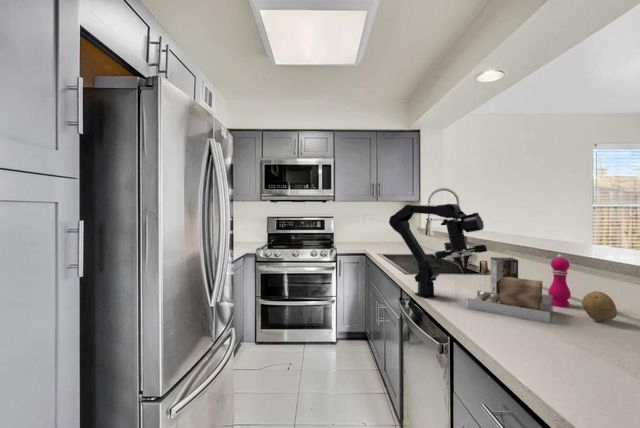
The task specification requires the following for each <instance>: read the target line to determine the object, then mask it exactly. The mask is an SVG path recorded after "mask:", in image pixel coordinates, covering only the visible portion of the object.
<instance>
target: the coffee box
mask: <svg viewBox="0 0 640 428" xmlns="http://www.w3.org/2000/svg"><path fill="white" fill-rule="evenodd" d="M505 277H511V278H519V260H518V259H516V258H514V257H492V256H491V257H490V291H489V292H491V293H498V294H500V282H501V281H502V280H503V279H504V278H505Z"/></svg>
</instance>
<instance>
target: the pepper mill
mask: <svg viewBox="0 0 640 428" xmlns="http://www.w3.org/2000/svg"><path fill="white" fill-rule="evenodd" d="M563 257H564V256H563V254H562V253H558V254H557V257H556V258H553V259H552V260H551V261H550V266H551V268H552V272H551V274H552V275H553V280H552V283H551V285H550V286H549V288H548V292H547V295H552V296H553V306H554V307H558V308H568V307H569V306H570V301H569V299H571V297H572V294H571V291H570V288H569V286H568V284H567V283H568V282H567V276H568V270H569V269H570V262H569V261H568V260H567V259H566V258H563Z"/></svg>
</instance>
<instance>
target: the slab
mask: <svg viewBox="0 0 640 428" xmlns="http://www.w3.org/2000/svg"><path fill="white" fill-rule="evenodd" d="M542 296H543V281H542V280H535V279H527V278H519V277H518V278H511V277H505V278H504V279H503V280H502V281H501V282H500V304H507V305H513V306H519V307H525V308H531V309H537V310H539V309H540V301H541V298H542Z"/></svg>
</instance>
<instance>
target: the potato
mask: <svg viewBox="0 0 640 428" xmlns="http://www.w3.org/2000/svg"><path fill="white" fill-rule="evenodd" d="M581 305H582V308H583V310H584V312H586V314H587V315H588V316H589V317H590V319H592V320H593V321H595V322H599V323H603V322H605V321H610V320H613V319H615V318H616V317H617V316H618V311H617V307H616V305H615V302H614V301H613V299H612V298H611V297H610V296H609V295H608V294H606V293H605V292H604V291H603V292H602V291H597V290H596V291H594V290H593V291H591V292H589V293H587V294H586V295H584V297H583V298H582V300H581Z"/></svg>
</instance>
